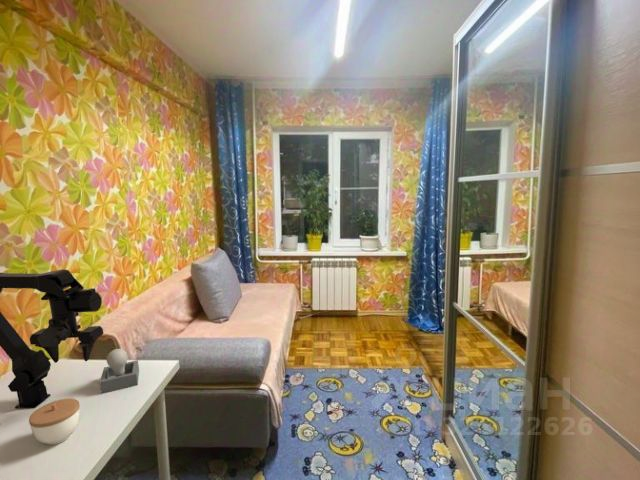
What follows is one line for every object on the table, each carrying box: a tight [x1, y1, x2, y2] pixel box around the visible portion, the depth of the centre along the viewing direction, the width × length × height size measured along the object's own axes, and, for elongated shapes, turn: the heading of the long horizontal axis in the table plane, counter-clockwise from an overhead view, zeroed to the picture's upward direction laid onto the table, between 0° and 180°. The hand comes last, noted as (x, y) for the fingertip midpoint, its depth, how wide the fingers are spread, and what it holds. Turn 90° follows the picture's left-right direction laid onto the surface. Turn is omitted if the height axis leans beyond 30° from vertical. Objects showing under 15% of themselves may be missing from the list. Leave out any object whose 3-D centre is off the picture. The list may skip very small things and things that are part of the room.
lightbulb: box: [106, 348, 128, 377], centre depth 120 cm, size 6×6×11 cm
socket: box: [99, 359, 140, 395], centre depth 121 cm, size 10×10×4 cm
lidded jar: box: [28, 397, 81, 446], centre depth 95 cm, size 11×11×9 cm
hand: (71, 361), depth 110 cm, fingers open, 9 cm apart
